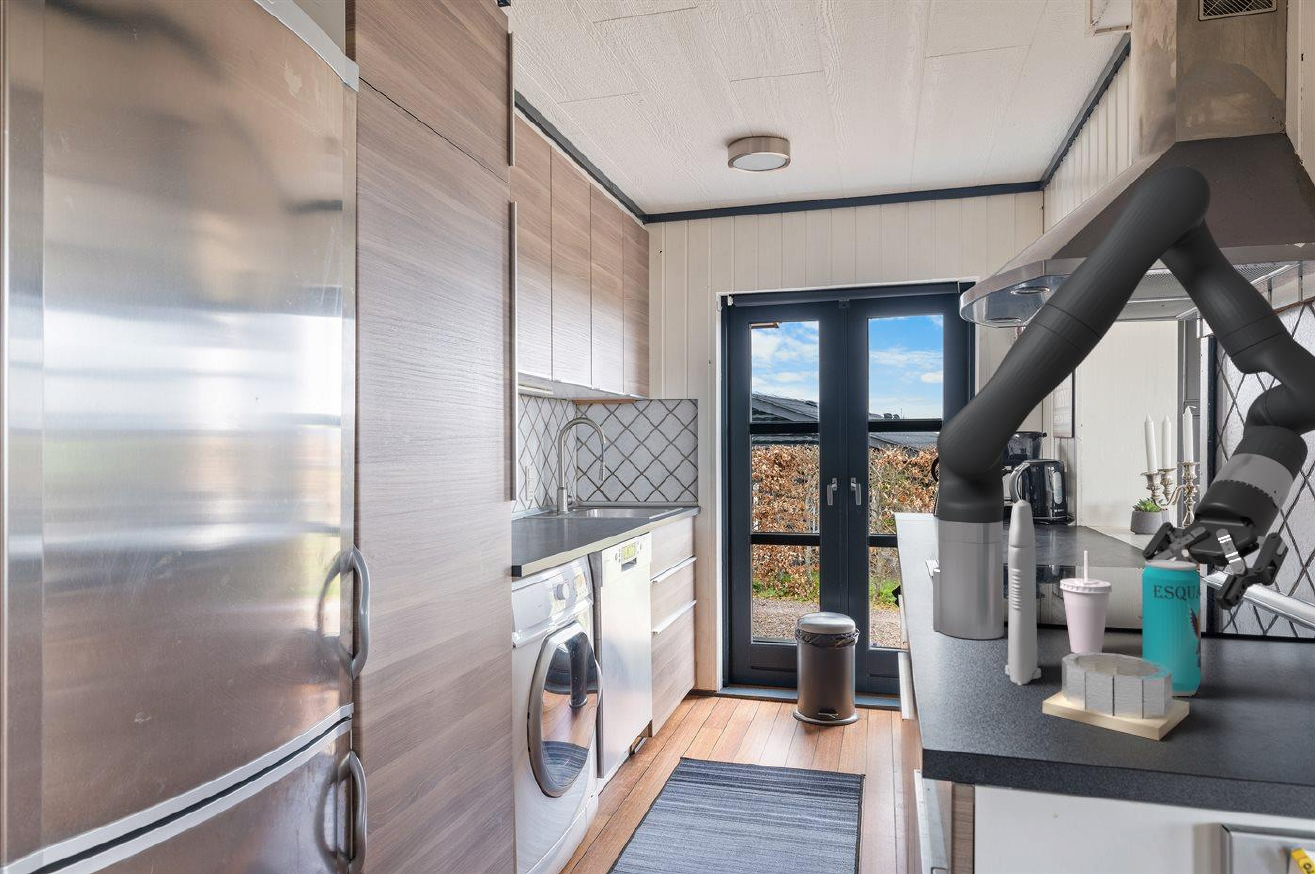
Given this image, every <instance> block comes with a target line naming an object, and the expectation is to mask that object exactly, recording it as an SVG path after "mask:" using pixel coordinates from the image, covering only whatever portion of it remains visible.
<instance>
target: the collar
mask: <svg viewBox="0 0 1315 874" xmlns="http://www.w3.org/2000/svg"><path fill="white" fill-rule="evenodd" d="M1061 691H1062V695H1063V697H1064V698H1065V700H1066V701H1067V702H1068V703H1071V704H1073V705H1075V706H1077V707H1080V708H1082V709H1084V710H1087V711H1092V712H1096V713H1101V714H1105V715H1109V716H1115V717H1125V718H1137V719H1142V718H1143V719H1148V718H1158V717H1164V716H1167V715H1168V714H1169V713H1170V712H1171V711H1172V699H1173V696H1172V672H1171V671H1170V670H1169V669H1168V668H1167V667H1166V666H1165V665H1162V664H1159V663H1156V662H1153V661H1150V660H1147V659H1143V657H1138V656H1131V655H1127V654H1126V655H1125V654H1120V653H1111V652H1101V653H1096V652H1092V653H1091V652H1086V653H1074V652H1073V653H1069V654H1067V655H1066V656H1064V657H1062V658H1061Z"/></svg>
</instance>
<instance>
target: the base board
mask: <svg viewBox="0 0 1315 874" xmlns="http://www.w3.org/2000/svg"><path fill="white" fill-rule="evenodd" d="M1042 714H1046V715H1050V716H1054V717H1059V718H1063V719H1067V720H1072V721H1075V722H1080V723H1083V724H1087V725H1092V726H1096V727H1099V728H1103V729H1104V728H1105V729H1109V730H1113V731H1117V732H1120V733H1121V732H1123V733H1125V734H1128V735H1129V734H1130V735H1134V736H1138V737H1142V738H1147V739H1152V740H1156V741H1160V740H1161V739H1162V738H1163V737H1165V736H1166V735H1167V734H1168V733H1169V732H1170V731H1171V730H1172V729H1174V728H1175V727H1176V726H1177V725H1178V724H1179V723H1180V722H1182V721H1183V720H1184V719H1185V718H1186V717H1187V716H1188V715H1189V714H1190V702H1189V701H1184V700H1179V699H1174V698H1172V711H1171V712H1170V713H1169V714H1168V715H1167V716H1164V717H1158V718H1148V719H1143V718H1142V719H1137V718H1125V717H1115V716H1109V715H1105V714H1101V713H1096V712H1092V711H1087V710H1084V709H1082V708H1080V707H1077V706H1075V705H1073V704H1071V703H1068V702H1067V701H1066V700H1065V698H1064V697H1063V695H1062V690H1060V691H1059V692H1057V693H1055V694H1053V695H1052V696H1050V697H1048V698H1047V699H1044V700H1042Z"/></svg>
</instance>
